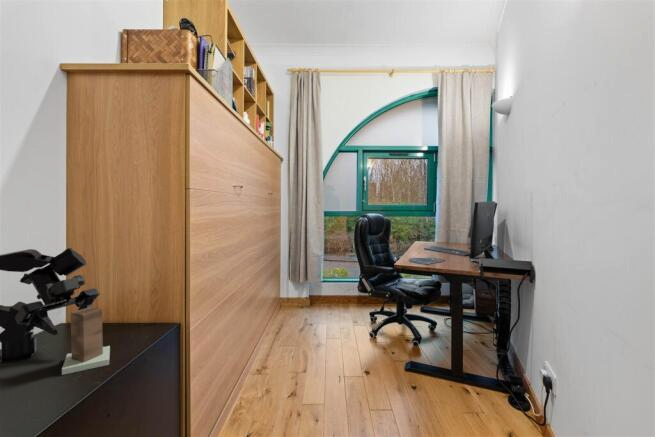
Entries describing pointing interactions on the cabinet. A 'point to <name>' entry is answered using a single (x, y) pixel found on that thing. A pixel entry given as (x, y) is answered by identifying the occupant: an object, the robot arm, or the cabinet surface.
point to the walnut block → (86, 334)
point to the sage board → (76, 366)
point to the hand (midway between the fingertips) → (74, 328)
